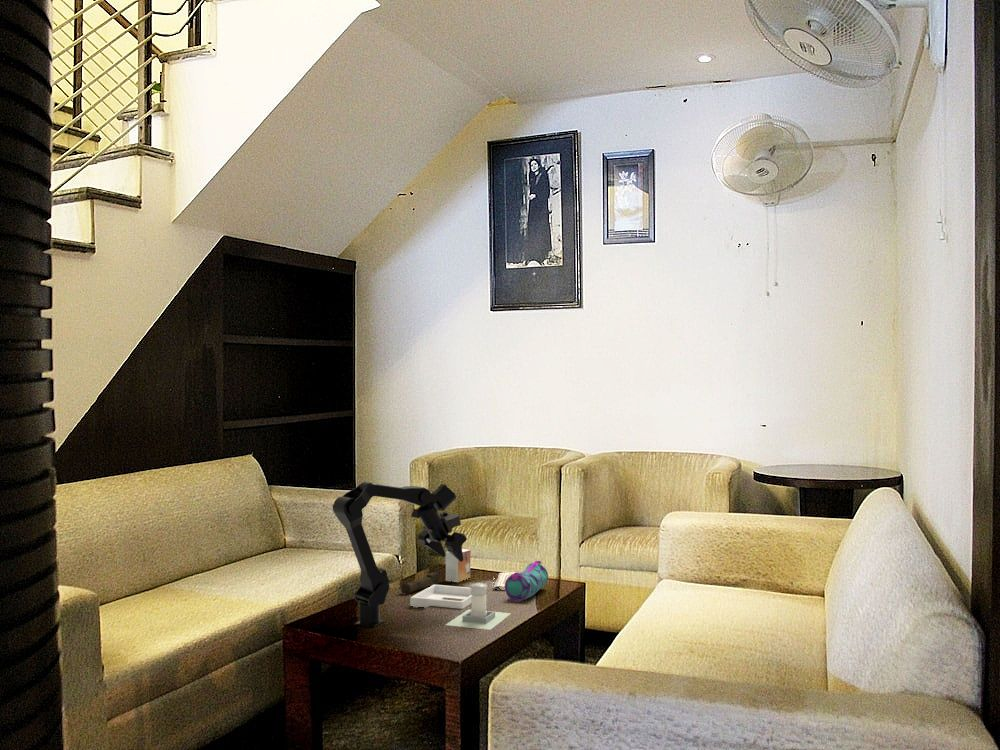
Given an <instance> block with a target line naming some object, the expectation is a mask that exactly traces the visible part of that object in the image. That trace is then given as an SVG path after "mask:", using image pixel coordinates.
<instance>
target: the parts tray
mask: <svg viewBox="0 0 1000 750" xmlns="http://www.w3.org/2000/svg"><path fill="white" fill-rule="evenodd" d="M445 598H448V599H445ZM409 599H410V601H409V603H410V605H409V607H410V606H413V607H412V608H418V607H424V608H423V609H427V608H429V607H430V606H431V607H438V608H439V607H441V608H450V609H451V608H452V609H460V610H463V609H465V608H466V607H468V606H469V605H472V595H471V587H469V586H467V587H466V586H457V585H456V586H455V585H444V584H437V585H432V586H430V587H426V588H424V589H423V590H421V591H419V592H417V593H416V594H414V595H412V596H410V598H409ZM453 599H460V600H461V601H460V600H453Z"/></svg>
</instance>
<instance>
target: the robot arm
mask: <svg viewBox="0 0 1000 750" xmlns="http://www.w3.org/2000/svg"><path fill="white" fill-rule="evenodd" d="M373 497H378V498H384V499H385V498H386V499H393V500H394V499H395V500H400V501H401V502H404V503H407V504H409V505H414V506H418V507H417V508H413V509H412V513H411V516H410V517H411V518H414V519H420V521H421V523H422V524H423V527H422V531H421V532H420V533H419V534H418V538H417V540H418V542H419V543H420V544H422V545H423V546H425V547H427V548H428V549H430V550H431V551H433V552H435V554H437V555H439V556H440V557H442V558H446V552H450V553H451V554H452V555H453V556H454V557H455V558H457V559H458V560H459V561H460V562H462V561H463V553H462V549H463V544H464V543H465V542H466V541H467V540H468V538H467V536H466V534H465V533H462V532H456V531H454V532H453V529H454V528H456V527H460V526H461V525H462V522H461V517H460V515H459V514H456V513H448V512H446V511H445V510H447V508H448V507H449V506H450V505H451V504H453V503H454V502H455V501H456V499H457V496H456V493H455V492H453V490H452V489H451V488H449V487H448V486H447V484H445V483H444V484H443V483H441V484H440V485H439V486H438V487H436V489H435V490H434V491H433V492H431V491H430V489H429V488H428V487H423V486H417V485H407V486H401V487H398V486H392V485H386V484H385V485H384V484H377V483H374V482H369V481H363V482H361V483H360V484H358V485H357V486H356V487H354V488H353V489H351V490H349V491H347V492H346V493H344V494H343V495H342V496H339V497H337V498H336V499H335V500H334V502H333V504H332V510H333V513H334V514H335V517H336V518H337V519H338V521H339V522H340V523H341V525H342V526H343V527H344V528H345V530H346V532H347V536H348V538H349V541H350V544H351V546H352V549H353V552H354V555H355V558H356V560H357V563H358V566H359V569H360V577H359V581H360V586H359V588H358V589H356V591H355V593H354V594H353V597H354V600H355V602H358V603H359V621H357V622H354V626H361V625H362V627H370V626H371V627H372V628H373V627H377V626H379V625H380V624H381V623H384V622H385V619H381V618H380V617H381V616H380V614H381V611H380V607H381V606H380V605H385V602H386V599H387V595H388V593H389V590H390V588H391V587H390V583H391V580H390V579H389V578H388V572H387V570H386V569H384V568H381V567H378V566H377V563H376V560H375V558H374V555H373V552H372V549H371V546H370V544H369V541H368V538H367V535H366V533H365V529H364V526H363V523H362V522H363V517H364V513H363V509H364V508H366V507H367V506H368V504H369V502H370V500H371V498H373ZM439 511H441V512H440V513H439ZM452 532H453V533H452ZM449 533H452V534H449ZM442 542H444V547H445V548H446V549H447V551H445V549H444V547H443V545H442ZM371 627H370V628H371Z"/></svg>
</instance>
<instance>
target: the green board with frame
mask: <svg viewBox="0 0 1000 750" xmlns="http://www.w3.org/2000/svg"><path fill="white" fill-rule="evenodd" d="M471 610H472V608H471V609H466V611H463V612H462V614H460V615H458V616H456V617H455V618H453V619H452V620H450V621H448V623H446V624H445V626H450V627H459V628H470V629H480V630H486V631H487V630H488V631H491V630H492V629H494V628H495V627H496V626H498V624H500V623H501V622H502V621H503V620H505V619H507V618H508V617H509V616H510V615H511V614H512V613H510V612H500V611H492V610H491V611H490V610H487V617H485V618H483V617H473V616H471Z"/></svg>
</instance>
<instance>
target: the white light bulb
mask: <svg viewBox="0 0 1000 750" xmlns="http://www.w3.org/2000/svg"><path fill="white" fill-rule="evenodd" d="M470 588H471V595H472V603H471V616H473V617H483V618H485V617H487V611H488V610H487V594H488V585H487V584H486V583H482V582H481V583H477V582H476V583H472V584H470Z"/></svg>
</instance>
